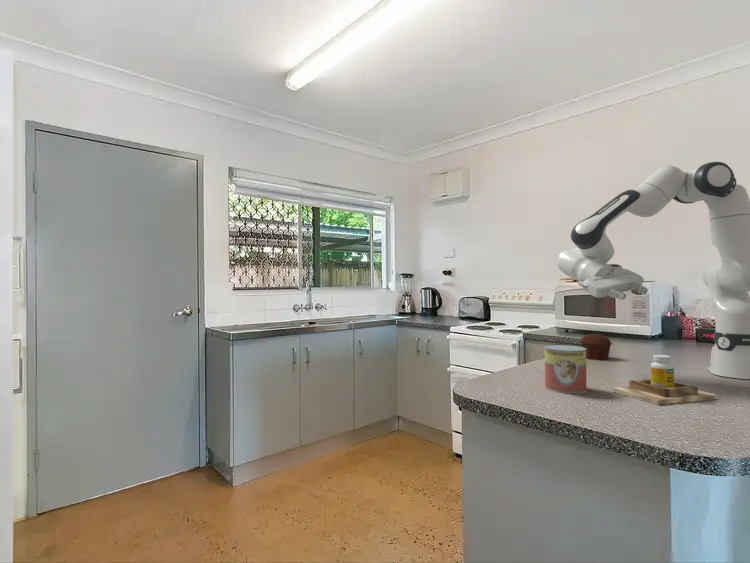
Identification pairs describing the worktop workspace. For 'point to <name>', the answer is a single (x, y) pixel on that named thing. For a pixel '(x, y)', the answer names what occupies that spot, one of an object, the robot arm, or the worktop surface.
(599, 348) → the muffin
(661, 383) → the supplement bottle
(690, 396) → the wooden tray
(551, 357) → the canned food
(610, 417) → the worktop surface
